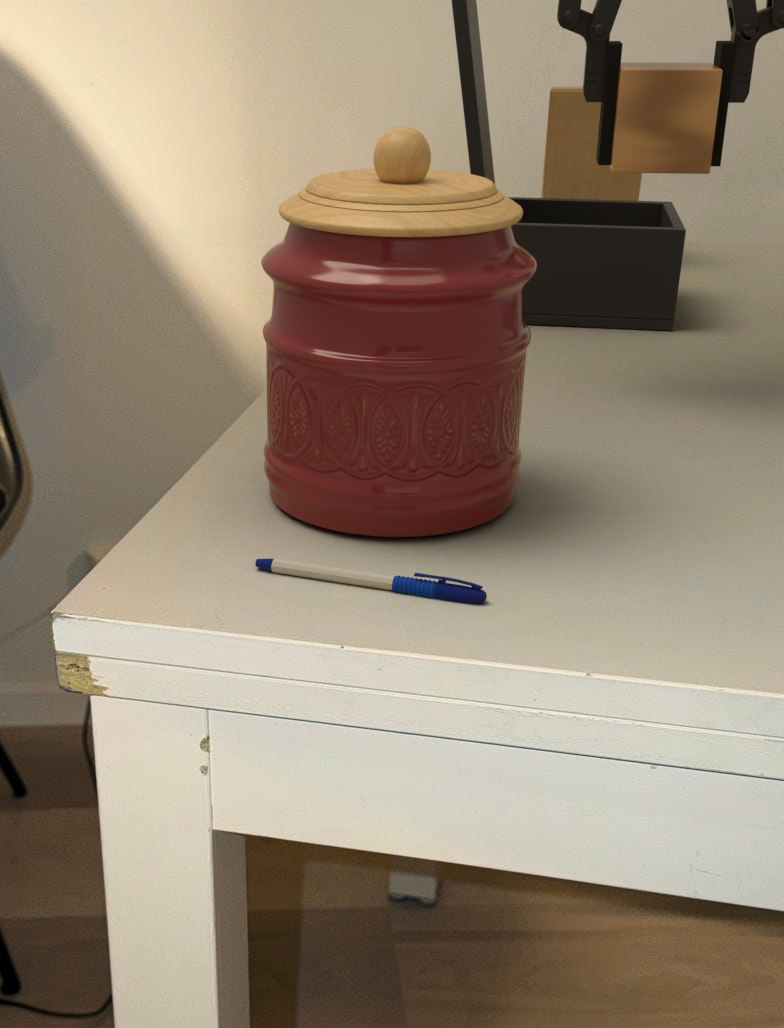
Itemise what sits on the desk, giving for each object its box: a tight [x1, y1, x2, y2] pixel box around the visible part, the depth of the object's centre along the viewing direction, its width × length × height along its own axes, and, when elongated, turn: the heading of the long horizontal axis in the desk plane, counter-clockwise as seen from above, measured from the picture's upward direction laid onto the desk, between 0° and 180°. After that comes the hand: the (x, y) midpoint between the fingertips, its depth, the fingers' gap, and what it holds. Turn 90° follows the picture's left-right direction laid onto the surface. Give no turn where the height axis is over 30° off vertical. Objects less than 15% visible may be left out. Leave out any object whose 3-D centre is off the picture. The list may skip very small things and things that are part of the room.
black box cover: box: [451, 0, 496, 186], centre depth 98 cm, size 15×13×1 cm
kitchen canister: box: [261, 126, 537, 538], centre depth 63 cm, size 13×13×18 cm
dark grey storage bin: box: [507, 196, 687, 332], centre depth 102 cm, size 15×13×7 cm
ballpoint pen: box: [254, 557, 488, 604], centre depth 57 cm, size 10×1×1 cm, turn 72°
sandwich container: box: [540, 85, 643, 201], centre depth 121 cm, size 9×15×15 cm, turn 170°
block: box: [609, 62, 723, 175], centre depth 76 cm, size 6×6×6 cm
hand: (656, 161), depth 77 cm, fingers closed on block, 5 cm apart
